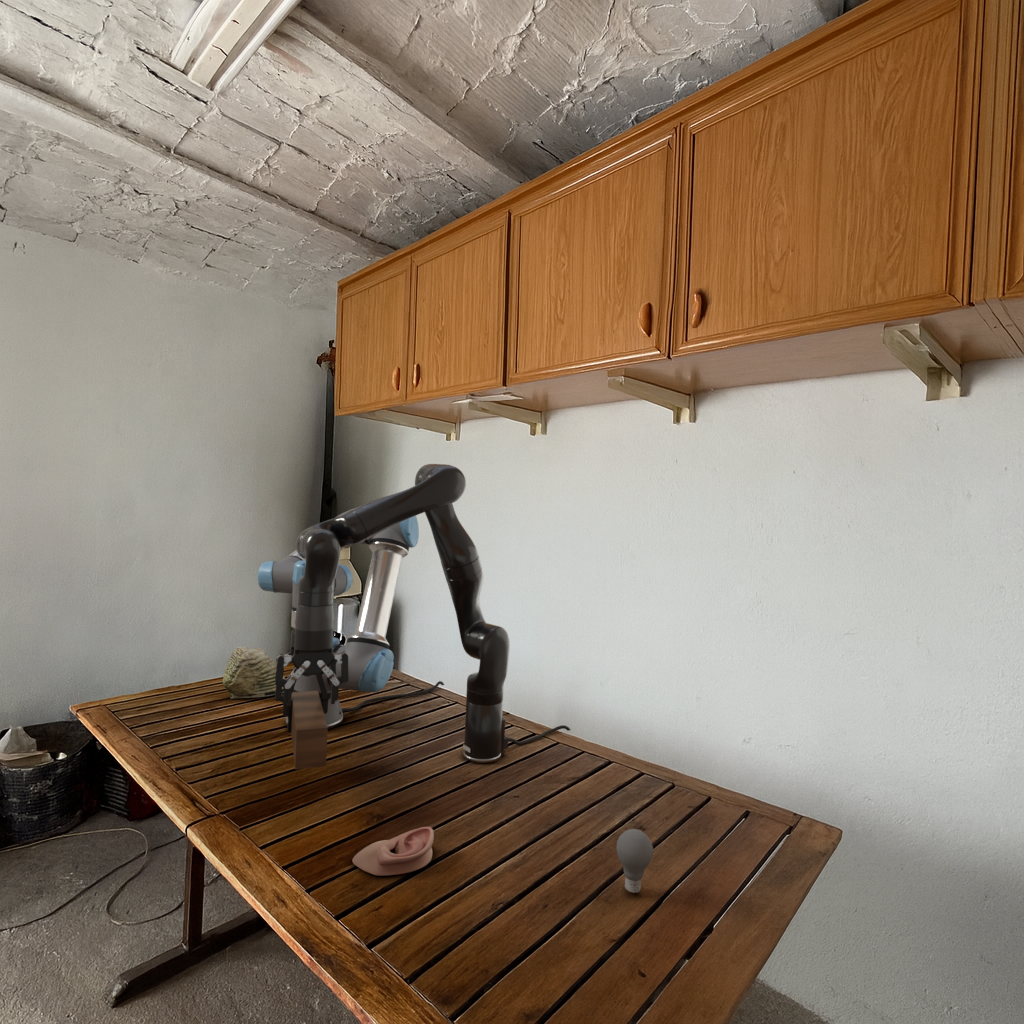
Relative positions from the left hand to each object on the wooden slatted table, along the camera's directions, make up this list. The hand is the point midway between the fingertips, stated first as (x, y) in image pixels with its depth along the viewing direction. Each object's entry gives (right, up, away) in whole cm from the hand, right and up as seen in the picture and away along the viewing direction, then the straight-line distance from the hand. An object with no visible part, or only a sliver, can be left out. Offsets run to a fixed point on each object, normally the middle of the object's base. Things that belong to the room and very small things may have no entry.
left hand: (304, 728), depth 145 cm
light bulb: (+68, -14, -39) cm, 79 cm away
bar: (+3, -1, -8) cm, 8 cm away
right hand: (+6, +10, -15) cm, 20 cm away
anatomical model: (+27, -12, -33) cm, 44 cm away
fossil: (-33, -8, +53) cm, 63 cm away
